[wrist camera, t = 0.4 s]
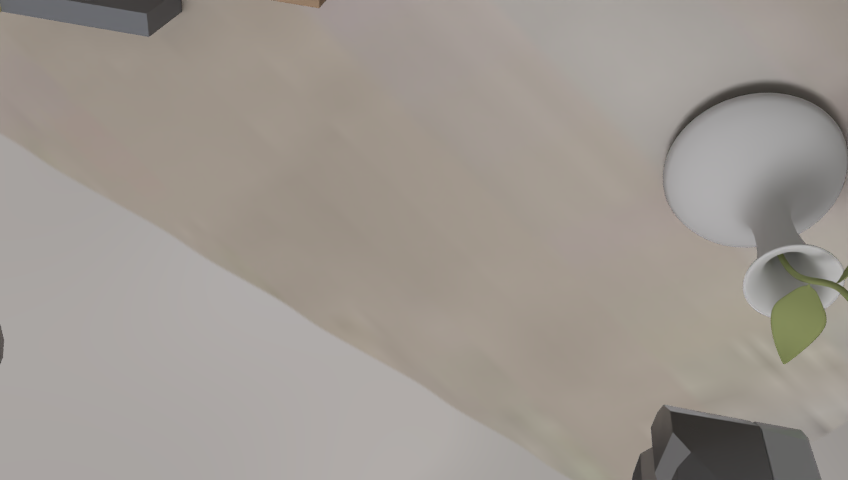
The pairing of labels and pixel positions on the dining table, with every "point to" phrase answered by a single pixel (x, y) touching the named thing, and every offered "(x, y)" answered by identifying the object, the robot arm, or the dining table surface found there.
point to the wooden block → (305, 2)
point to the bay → (101, 13)
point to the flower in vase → (766, 202)
